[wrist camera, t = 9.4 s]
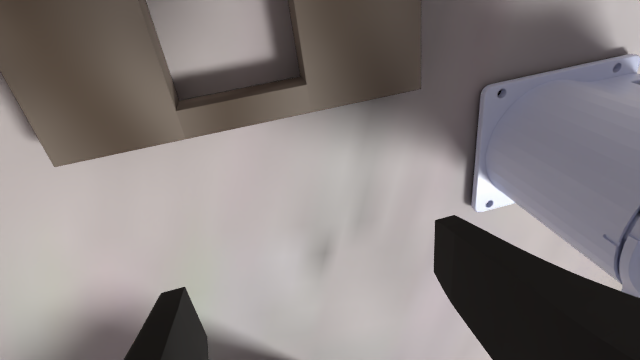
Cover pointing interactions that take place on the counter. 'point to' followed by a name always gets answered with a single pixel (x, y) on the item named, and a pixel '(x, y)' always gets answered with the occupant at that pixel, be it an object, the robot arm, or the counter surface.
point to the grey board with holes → (156, 83)
